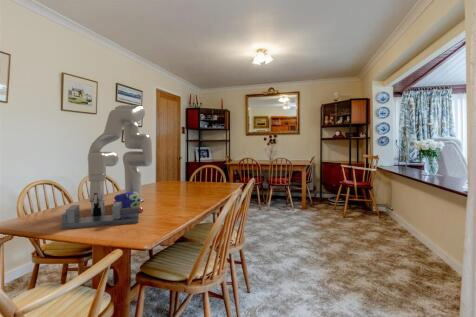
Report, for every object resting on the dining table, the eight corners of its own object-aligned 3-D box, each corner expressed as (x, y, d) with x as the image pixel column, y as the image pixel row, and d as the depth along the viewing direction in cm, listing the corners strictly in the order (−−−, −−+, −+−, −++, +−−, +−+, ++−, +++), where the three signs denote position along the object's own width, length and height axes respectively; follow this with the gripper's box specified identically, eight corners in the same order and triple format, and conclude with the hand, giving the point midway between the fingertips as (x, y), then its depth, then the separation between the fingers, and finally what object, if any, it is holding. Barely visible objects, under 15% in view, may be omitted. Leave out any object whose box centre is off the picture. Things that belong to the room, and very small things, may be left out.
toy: (148, 205, 153) (136, 211, 138) (121, 210, 154) (106, 215, 139) (146, 188, 153) (133, 191, 138) (118, 192, 154) (103, 196, 139)
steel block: (93, 216, 132) (93, 200, 132) (104, 215, 134) (104, 199, 133) (91, 219, 127) (91, 202, 127) (103, 218, 129) (102, 201, 129)
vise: (69, 222, 122) (68, 205, 121) (138, 217, 131) (138, 201, 130) (62, 229, 112) (61, 210, 112) (137, 222, 121) (137, 205, 121)
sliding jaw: (115, 214, 127) (115, 202, 127) (143, 212, 131) (143, 200, 131) (112, 219, 118) (112, 206, 118) (142, 217, 122) (142, 204, 122)
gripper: (92, 176, 137) (93, 211, 137) (84, 180, 120) (85, 219, 121) (108, 175, 139) (109, 210, 140) (102, 179, 123) (103, 218, 124)
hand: (98, 214), depth 131 cm, fingers closed on steel block, 5 cm apart
